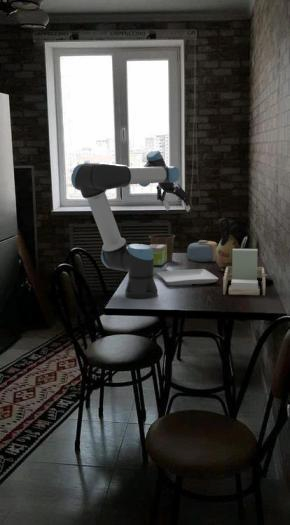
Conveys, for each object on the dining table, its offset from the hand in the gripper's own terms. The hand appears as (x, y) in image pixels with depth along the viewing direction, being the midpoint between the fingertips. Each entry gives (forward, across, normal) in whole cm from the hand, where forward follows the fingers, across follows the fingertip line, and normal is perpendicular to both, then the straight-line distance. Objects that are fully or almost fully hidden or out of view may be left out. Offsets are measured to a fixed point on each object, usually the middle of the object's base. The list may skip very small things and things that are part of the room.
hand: (178, 209), depth 284 cm
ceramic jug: (+45, -15, 0) cm, 47 cm away
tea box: (+30, +17, +20) cm, 40 cm away
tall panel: (+28, -42, +23) cm, 55 cm away
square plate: (+24, -12, +29) cm, 40 cm away
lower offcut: (+20, -50, +35) cm, 64 cm away
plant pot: (+47, +35, -3) cm, 58 cm away
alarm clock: (+58, +17, -19) cm, 64 cm away
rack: (+26, -44, +26) cm, 57 cm away
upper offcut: (+17, -50, +33) cm, 62 cm away
